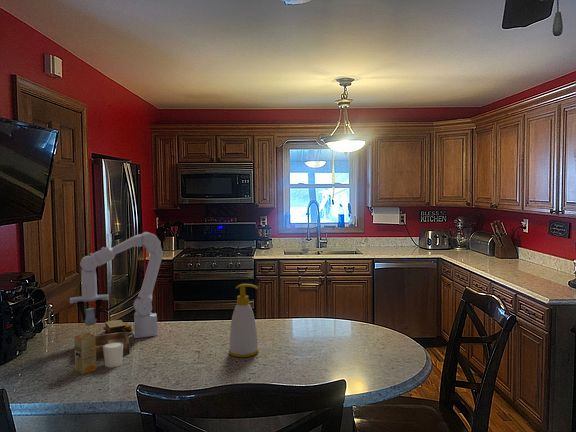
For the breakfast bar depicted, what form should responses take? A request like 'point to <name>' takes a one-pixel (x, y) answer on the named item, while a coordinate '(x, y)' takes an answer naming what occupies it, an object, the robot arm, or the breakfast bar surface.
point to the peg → (90, 316)
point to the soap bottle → (243, 327)
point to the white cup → (113, 354)
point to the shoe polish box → (85, 353)
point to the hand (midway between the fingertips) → (90, 318)
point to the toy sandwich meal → (117, 327)
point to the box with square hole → (111, 338)
